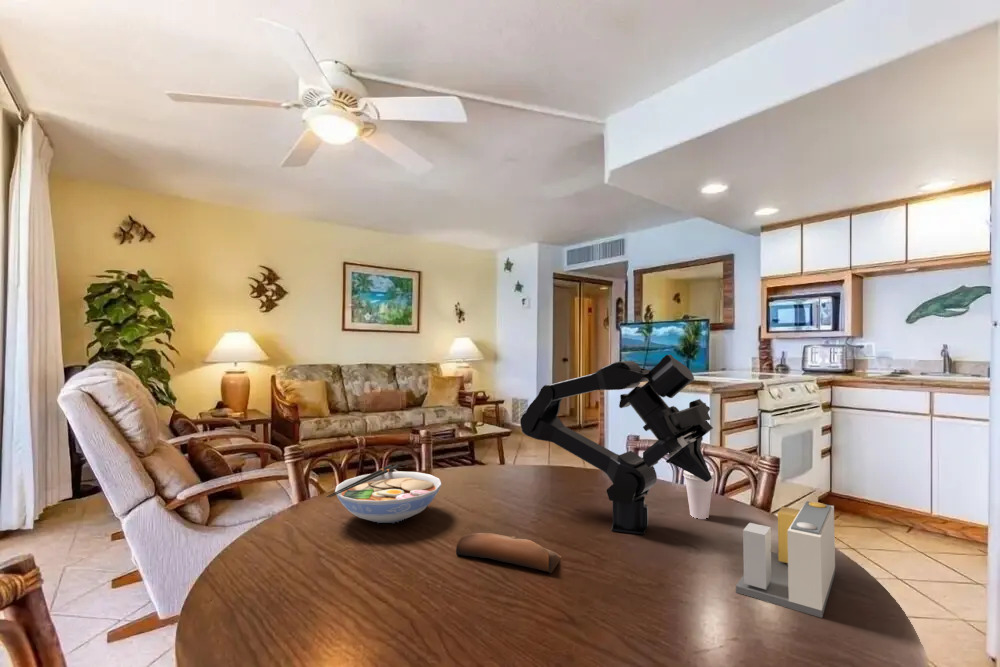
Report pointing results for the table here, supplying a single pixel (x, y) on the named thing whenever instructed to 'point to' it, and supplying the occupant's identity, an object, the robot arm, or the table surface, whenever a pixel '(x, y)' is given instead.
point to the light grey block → (757, 555)
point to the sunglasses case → (508, 550)
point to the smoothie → (698, 495)
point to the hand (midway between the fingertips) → (709, 480)
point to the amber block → (784, 531)
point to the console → (802, 564)
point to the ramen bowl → (387, 494)
